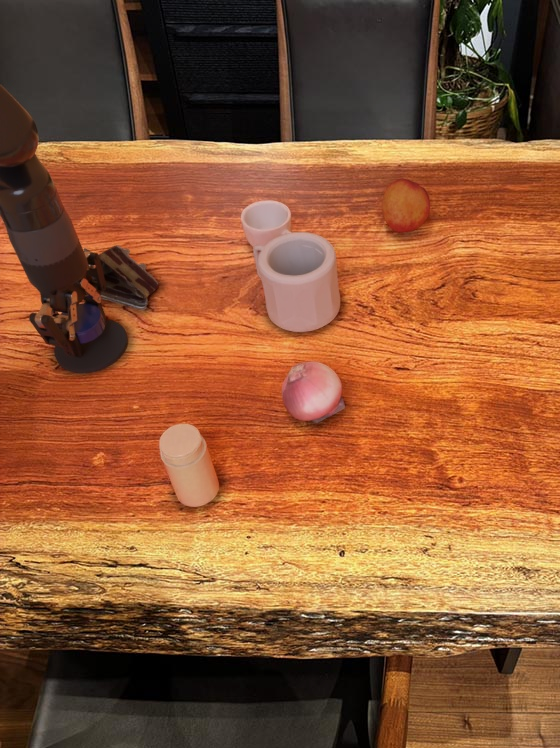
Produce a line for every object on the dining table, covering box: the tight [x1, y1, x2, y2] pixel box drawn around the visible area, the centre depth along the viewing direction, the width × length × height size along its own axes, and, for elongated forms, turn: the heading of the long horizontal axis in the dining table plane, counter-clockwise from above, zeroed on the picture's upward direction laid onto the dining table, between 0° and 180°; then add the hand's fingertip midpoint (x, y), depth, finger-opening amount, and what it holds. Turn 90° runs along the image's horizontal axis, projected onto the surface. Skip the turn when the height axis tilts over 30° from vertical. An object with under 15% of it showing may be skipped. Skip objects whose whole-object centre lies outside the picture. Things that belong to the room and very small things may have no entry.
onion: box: [280, 360, 346, 424], centre depth 102 cm, size 8×8×7 cm
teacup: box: [240, 199, 293, 248], centre depth 125 cm, size 10×8×5 cm
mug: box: [252, 231, 341, 333], centre depth 114 cm, size 14×11×10 cm
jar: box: [158, 423, 220, 508], centre depth 93 cm, size 5×5×10 cm
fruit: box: [381, 177, 431, 234], centre depth 126 cm, size 8×8×8 cm
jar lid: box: [59, 302, 106, 344], centre depth 110 cm, size 6×6×2 cm
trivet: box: [53, 318, 129, 375], centre depth 113 cm, size 10×10×1 cm
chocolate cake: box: [83, 244, 160, 311], centre depth 121 cm, size 10×7×12 cm
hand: (88, 338), depth 112 cm, fingers closed on jar lid, 6 cm apart
